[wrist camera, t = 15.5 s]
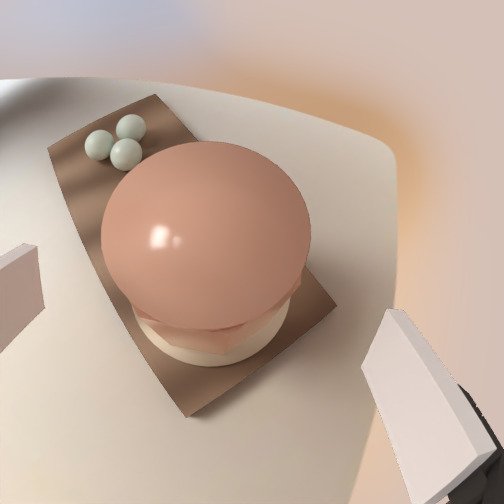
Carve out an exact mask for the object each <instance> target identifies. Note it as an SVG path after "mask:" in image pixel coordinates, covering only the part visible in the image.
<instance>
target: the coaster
mask: <svg viewBox="0 0 504 504" xmlns="http://www.w3.org/2000/svg"><path fill="white" fill-rule="evenodd" d="M289 303H290V298H289V299H288V300H287V301H286V302H285V304H284V305H283V306H282V307H281V308H280V309H279V311H278V312H277V313H276V314H275V315H274V316H273V318H272V319H271V320H270V321H269V322H268V323H267V325H265V326H264V327H263V328H261V329H260V330H259V331H257V332H256V333H254V334H253V335H252V336H250V337H249V338H247V339H246V340H245V341H243V342H242V343H240V344H239V345H238V346H236V347H235V348H233V349H232V350H230V351H229V352H228V353H226V354H225V355H218V354H212V353H207V352H202V351H196V350H191V349H186V348H181V347H176V346H172V345H170V344H168V343H167V342H166V341H165V340H164V339H163V338H161V337H160V336H159V335H158V334H157V333H156V332H155V331H154V330H152V329H151V328H150V327H149V326H148V325H147V324H146V323H145V322H144V321H143V320H141V319H140V318H139V316H138V315H137V313H136V311H135V310H134V308H133V306H132V309H133V312H134V315H135V318H136V320H137V322H138V324H139V326H140V328H141V329H142V330H143V332H144V333H145V335H146V336H147V337H148V338H149V339H150V341H151V342H152V343H153V344H154V345H155V346H157V347H158V348H159V349H160V350H162V351H163V352H164V353H166V354H168V355H169V356H171V357H173V358H175V359H177V360H180V361H182V362H185V363H188V364H192V365H197V366H205V367H216V366H224V365H230V364H233V363H236V362H240V361H242V360H244V359H246V358H248V357H250V356H252V355H253V354H255V353H257V352H258V351H260V350H261V349H262V348H263V347H264V346H266V345H267V344H268V343H269V342H270V341H271V339H272V338H273V337H274V336H275V335H276V333H277V332H278V330H279V329H280V327H281V326H282V324H283V321H284V319H285V317H286V314H287V311H288V308H289Z"/></svg>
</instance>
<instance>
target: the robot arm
mask: <svg viewBox="0 0 504 504" xmlns="http://www.w3.org/2000/svg"><path fill="white" fill-rule="evenodd" d="M43 309H45V307H44V300H43V294H42V287H41V280H40V271H39V262H38V251H37V246H34V245H30V244H26V243H23V244H21V245H20V246H18V247H16V248H14V249H13V250H11V251H9V252H8V253H6V254H4V255H3V256H1V257H0V353H1V352H2V351H3V350H4V349H5V348H6V347H7V346H8V345H9V344H10V343H11V342H12V340H13V339H14V338H15V337H16V336H17V335H18V334H19V333H20V332H21V331H22V330H23V329H24V328H25V327H26V326H27V325H28V324H29V323H30V322H31V321H32V320H33V319H34V318H35V317H36V316H37V315H38V314H39V313H40V312H41V311H42V310H43ZM361 368H362V371H363V373H364V376H365V378H366V380H367V383H368V385H369V388H370V390H371V393H372V395H373V398H374V400H375V403H376V406H377V408H378V411H379V413H380V416H381V419H382V421H383V423H384V426H385V429H386V432H387V434H388V436H389V440H390V442H391V445H392V448H393V451H394V453H395V456H396V459H397V462H398V465H399V468H400V471H401V474H402V477H403V480H404V483H405V485H406V489H407V492H408V495H409V498H410V501H411V504H436V503H437V502H439V501H440V500H441V499H442V498H444V497H445V496H446V495H448V498H449V500H450V501H449V502H448V503H446V504H504V449H503V447H502V446H501V444H500V442H499V441H498V439H497V437H496V436H495V434H494V432H493V431H492V429H491V428H490V426H489V424H488V423H487V421H486V419H485V418H484V416H482V413H481V411H480V410H479V408H478V407H476V404H475V402H474V401H473V399H472V398H471V396H470V395H469V393H468V392H467V391H465V390H464V389H463V388H462V387H461V386H460V385H458V384H457V383H456V382H455V380H454V379H453V377H452V376H451V374H450V373H449V372H448V370H447V369H446V367H445V366H444V364H443V363H442V361H441V360H440V359H439V357H438V356H437V354H436V353H435V352H434V350H433V349H432V347H431V346H430V345H429V343H428V342H427V341H426V340H425V338H424V337H423V335H422V334H421V332H420V331H419V330H418V328H417V327H416V326H415V325H414V323H413V322H412V321H411V319H410V318H409V317H408V315H407V314H406V313H405V312H404V310H395V309H388V308H387V309H386V312H385V314H384V316H383V319H382V321H381V324H380V326H379V328H378V331H377V333H376V335H375V337H374V340H373V342H372V344H371V346H370V349H369V351H368V353H367V355H366V357H365V359H364V361H363V363H362V366H361Z"/></svg>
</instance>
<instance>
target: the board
mask: <svg viewBox="0 0 504 504" xmlns="http://www.w3.org/2000/svg"><path fill="white" fill-rule="evenodd" d="M130 114H134V115H138V116H140V117H141V118H142V119H143V120H144V122H145V125H146V131H145V134H144V136H143V138H142V139H141V140H140V141H138V143H139V145H140V146H141V149H142V159H141V161H140V163H141V162H142V161H143V160H145V159H146V158H148V157H150V156H152V155H153V154H155V153H157V152H160V151H162V150H164V149H167V148H170V147H173V146H176V145H181V144H185V143H191V142H199V141H198V140H197V139H196V138H195V137H194V136H193V135H192V133H191V132H190V131H189V130H188V129H187V128H186V127H185V126H184V125H183V124H182V122H181V121H180V120H179V119H178V118H177V117H176V116H175V115H174V114H173V113H172V111H171V110H170V109H169V108H168V107H167V106H166V105H165V104H164V103H163V102H162V101H161V99H160V98H159V97H158V96H157V95H156V94H154V95H151V96H149V97H146V98H144V99H142V100H139V101H137V102H135V103H132V104H130V105H128V106H126V107H124V108H121V109H119V110H117V111H115V112H113V113H111V114H109V115H107V116H105V117H103V118H101V119H99V120H97V121H95V122H93V123H91V124H89V125H87V126H85V127H83V128H81V129H80V130H78V131H76V132H74V133H72V134H71V135H69V136H67V137H65V138H64V139H62V140H60V141H58V142H57V143H55V144H53V145H52V146H50V147H49V148H48V152H49V155H50V158H51V161H52V164H53V168H54V171H55V173H56V176H57V179H58V182H59V185H60V188H61V191H62V193H63V196H64V199H65V201H66V204H67V206H68V209H69V212H70V214H71V217H72V219H73V221H74V224H75V226H76V229H77V231H78V233H79V236H80V238H81V240H82V243H83V245H84V247H85V249H86V251H87V254H88V256H89V258H90V260H91V262H92V264H93V266H94V268H95V270H96V273H97V275H98V277H99V279H100V281H101V283H102V285H103V286H104V288H105V290H106V292H107V294H108V296H109V298H110V300H111V302H112V304H113V305H114V307H115V309H116V311H117V313H118V315H119V316H120V318H121V320H122V322H123V323H124V325H125V327H126V329H127V330H128V332H129V334H130V335H131V337H132V339H133V340H134V342H135V344H136V345H137V347H138V349H139V350H140V352H141V353H142V355H143V357H144V358H145V360H146V361H147V363H148V364H149V366H150V367H151V369H152V370H153V372H154V373H155V375H156V376H157V378H158V379H159V381H160V382H161V384H162V385H163V387H164V388H165V390H166V391H167V392H168V394H169V395H170V397H171V398H172V399H173V401H174V402H175V404H176V405H177V406H178V408H179V409H180V410H181V412H182V413H183V414H184V416H185V417H186V418H187V417H189V416H190V415H192V414H193V413H195V412H196V411H198V410H199V409H201V408H203V407H204V406H206V405H207V404H209V403H210V402H212V401H213V400H215V399H216V398H218V397H219V396H221V395H222V394H223V393H225V392H226V391H228V390H229V389H231V388H232V387H234V386H235V385H236V384H238V383H239V382H241V381H242V380H243V379H245V378H246V377H248V376H249V375H250V374H252V373H253V372H255V371H256V370H257V369H259V368H260V367H261V366H263V365H264V364H265V363H267V362H268V361H269V360H271V359H272V358H273V357H275V356H276V355H277V354H279V353H280V352H281V351H283V350H284V349H285V348H286V347H288V346H289V345H290V344H292V343H293V342H294V341H295V340H297V339H298V338H299V337H300V336H302V335H303V334H304V333H305V332H307V331H308V330H309V329H310V328H312V327H313V326H314V325H315V324H316V323H318V322H319V321H320V320H321V319H322V318H324V317H325V316H326V315H327V314H328V313H330V312H331V311H332V310H333V309H334V308H335V307H337V305H336V304H335V302H334V301H333V300H332V299H331V297H330V296H329V295H328V294H327V292H326V291H325V290H324V289H323V287H322V286H321V285H320V284H319V282H318V281H317V280H316V279H315V277H314V276H313V275H312V274H311V273H310V271H309V270H308V269H307V268H306V266H305V265H304V267H303V269H302V274H301V284H300V286H299V287H298V288H297V289H296V290H295V292H294V293H293V294H292V295H291V296H290V303H289V308H288V311H287V314H286V317H285V319H284V321H283V324H282V326H281V327H280V329H279V330H278V332H277V333H276V335H275V336H274V337H273V338H272V339H271V341H270V342H269V343H268V344H267V345H266V346H264V347H263V348H262V349H261V350H260V351H258V352H257V353H255V354H253V355H252V356H250V357H248V358H246V359H244V360H242V361H240V362H236V363H233V364H230V365H224V366H216V367H205V366H197V365H192V364H188V363H185V362H182V361H180V360H177V359H175V358H173V357H171V356H169V355H168V354H166V353H164V352H163V351H162V350H160V349H159V348H158V347H157V346H155V345H154V344H153V343H152V342H151V341H150V339H149V338H148V337H147V336H146V335H145V333H144V332H143V330H142V329H141V328H140V326H139V324H138V322H137V320H136V318H135V315H134V312H133V309H132V305H131V303H130V301H129V299H128V298H127V297H126V296H125V295H124V294H123V292H122V291H121V290H120V289H119V288H118V286H117V285H116V283H115V282H114V280H113V278H112V277H111V275H110V273H109V271H108V268H107V266H106V264H105V260H104V256H103V252H102V249H101V246H102V244H101V226H102V221H103V216H104V212H105V209H106V206H107V203H108V201H109V199H110V197H111V195H112V193H113V192H114V190H115V189H116V187H117V186H118V184H119V183H120V182H121V180H122V179H123V178H124V177H125V176H126V175H127V174H128V173H129V172H130V171H131V170H129V171H122V170H119V169H117V168H116V167H115V166H114V165H113V164H112V162H111V158H110V156H109V157H107V158H106V159H104V160H99V161H97V160H93V159H91V158H90V157H89V156H88V155H87V154H86V151H85V142H86V139H87V137H88V136H89V135H90V134H91V133H92V132H94V131H97V130H105V131H107V132H109V133H110V134H111V135H112V137H113V139H114V144H115V143H116V142H118V141H119V138H118V137H117V134H116V127H117V124H118V122H119V121H120V120H121V119H122V118H123V117H124V116H126V115H130Z"/></svg>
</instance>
